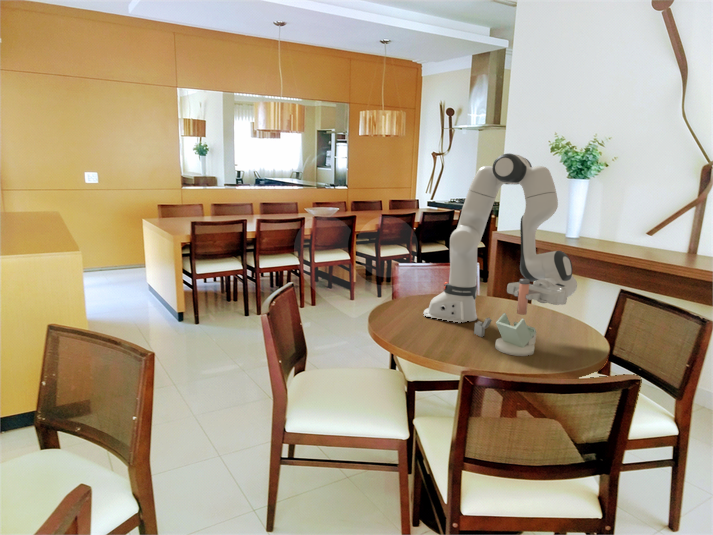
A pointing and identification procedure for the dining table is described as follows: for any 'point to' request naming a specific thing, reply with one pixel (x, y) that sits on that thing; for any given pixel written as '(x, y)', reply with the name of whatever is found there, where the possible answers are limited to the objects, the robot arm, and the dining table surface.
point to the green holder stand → (515, 337)
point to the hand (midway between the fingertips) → (521, 295)
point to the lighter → (481, 327)
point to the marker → (523, 296)
